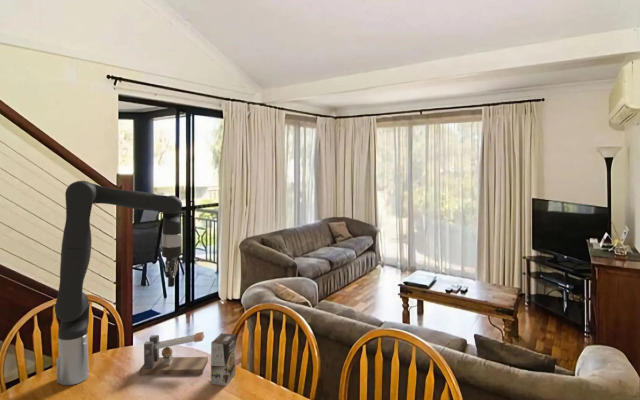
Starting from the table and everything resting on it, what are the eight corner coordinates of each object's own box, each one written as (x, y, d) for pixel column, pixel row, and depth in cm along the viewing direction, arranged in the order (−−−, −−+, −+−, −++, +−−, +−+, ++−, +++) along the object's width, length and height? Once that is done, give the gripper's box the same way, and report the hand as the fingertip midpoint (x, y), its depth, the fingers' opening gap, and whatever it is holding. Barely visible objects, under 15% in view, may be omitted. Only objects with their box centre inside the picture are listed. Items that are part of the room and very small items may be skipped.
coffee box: (226, 386, 141) (226, 344, 140) (210, 384, 142) (210, 342, 141) (236, 373, 150) (236, 334, 148) (221, 371, 151) (221, 332, 150)
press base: (139, 375, 147) (138, 345, 146) (148, 362, 157) (148, 334, 156) (202, 374, 149) (202, 344, 148) (207, 361, 159) (207, 333, 158)
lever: (148, 351, 150) (146, 346, 150) (151, 347, 153) (150, 342, 153) (202, 340, 151) (201, 335, 151) (204, 336, 154) (203, 331, 154)
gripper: (167, 241, 161) (167, 281, 162) (156, 247, 147) (155, 291, 149) (185, 241, 161) (185, 281, 162) (175, 248, 148) (175, 291, 149)
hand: (171, 286), depth 155 cm, fingers closed
